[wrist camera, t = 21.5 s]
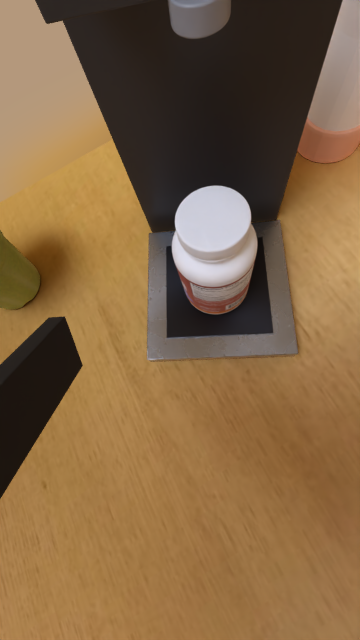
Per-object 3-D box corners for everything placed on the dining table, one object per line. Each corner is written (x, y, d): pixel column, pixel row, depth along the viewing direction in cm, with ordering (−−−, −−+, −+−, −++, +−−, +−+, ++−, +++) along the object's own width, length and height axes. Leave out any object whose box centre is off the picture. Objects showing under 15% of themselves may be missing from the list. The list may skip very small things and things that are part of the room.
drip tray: (294, 356, 26) (299, 353, 24) (150, 361, 28) (146, 359, 26) (277, 228, 30) (280, 217, 28) (152, 240, 32) (148, 231, 30)
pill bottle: (190, 255, 29) (172, 172, 18) (251, 261, 27) (269, 175, 17) (179, 312, 27) (153, 257, 17) (243, 320, 26) (258, 267, 15)
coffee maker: (282, 263, 29) (509, -252, 6) (151, 273, 31) (-53, -86, 8) (271, 182, 32) (399, -377, 9) (152, 197, 34) (3, -233, 11)
